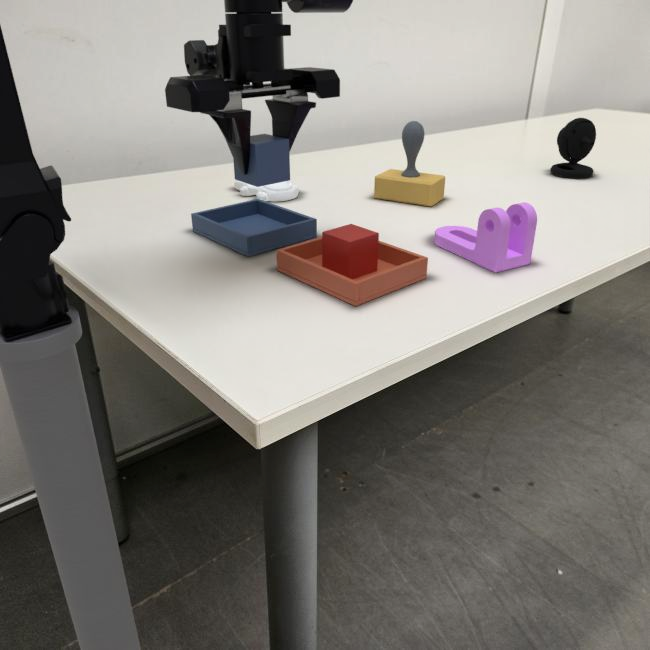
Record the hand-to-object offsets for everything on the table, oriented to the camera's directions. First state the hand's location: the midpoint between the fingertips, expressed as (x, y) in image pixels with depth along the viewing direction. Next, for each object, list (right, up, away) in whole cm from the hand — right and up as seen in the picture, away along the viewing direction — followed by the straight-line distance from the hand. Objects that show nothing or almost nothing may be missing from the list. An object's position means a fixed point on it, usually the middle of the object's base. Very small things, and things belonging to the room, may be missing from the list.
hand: (261, 170), depth 68 cm
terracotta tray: (+10, -11, +2) cm, 15 cm away
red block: (+10, -11, +2) cm, 15 cm away
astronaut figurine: (-3, +5, +34) cm, 34 cm away
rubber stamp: (+21, +3, +31) cm, 37 cm away
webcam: (+53, +11, +45) cm, 70 cm away
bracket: (+26, -8, +9) cm, 29 cm away
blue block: (0, -1, 0) cm, 1 cm away
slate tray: (-3, -5, +15) cm, 16 cm away
